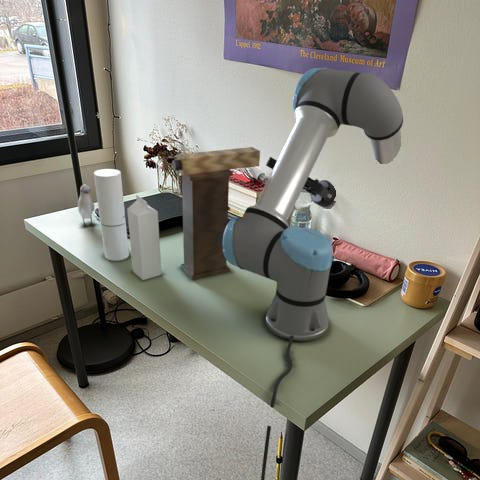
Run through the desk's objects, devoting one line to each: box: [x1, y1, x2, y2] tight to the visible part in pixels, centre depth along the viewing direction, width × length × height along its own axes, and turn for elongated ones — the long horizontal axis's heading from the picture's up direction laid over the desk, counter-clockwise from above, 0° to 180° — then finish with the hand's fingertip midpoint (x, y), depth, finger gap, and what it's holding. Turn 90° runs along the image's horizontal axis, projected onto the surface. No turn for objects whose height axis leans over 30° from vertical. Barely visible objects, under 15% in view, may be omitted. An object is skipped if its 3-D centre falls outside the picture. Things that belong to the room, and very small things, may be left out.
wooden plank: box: [171, 146, 261, 176], centre depth 121 cm, size 24×4×4 cm, turn 119°
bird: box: [77, 183, 96, 228], centre depth 156 cm, size 5×14×15 cm, turn 29°
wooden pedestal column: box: [177, 169, 234, 281], centre depth 129 cm, size 12×8×29 cm, turn 119°
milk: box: [126, 195, 162, 281], centre depth 128 cm, size 6×6×22 cm
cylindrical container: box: [93, 168, 130, 262], centre depth 136 cm, size 7×7×25 cm
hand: (281, 167), depth 132 cm, fingers open, 13 cm apart
